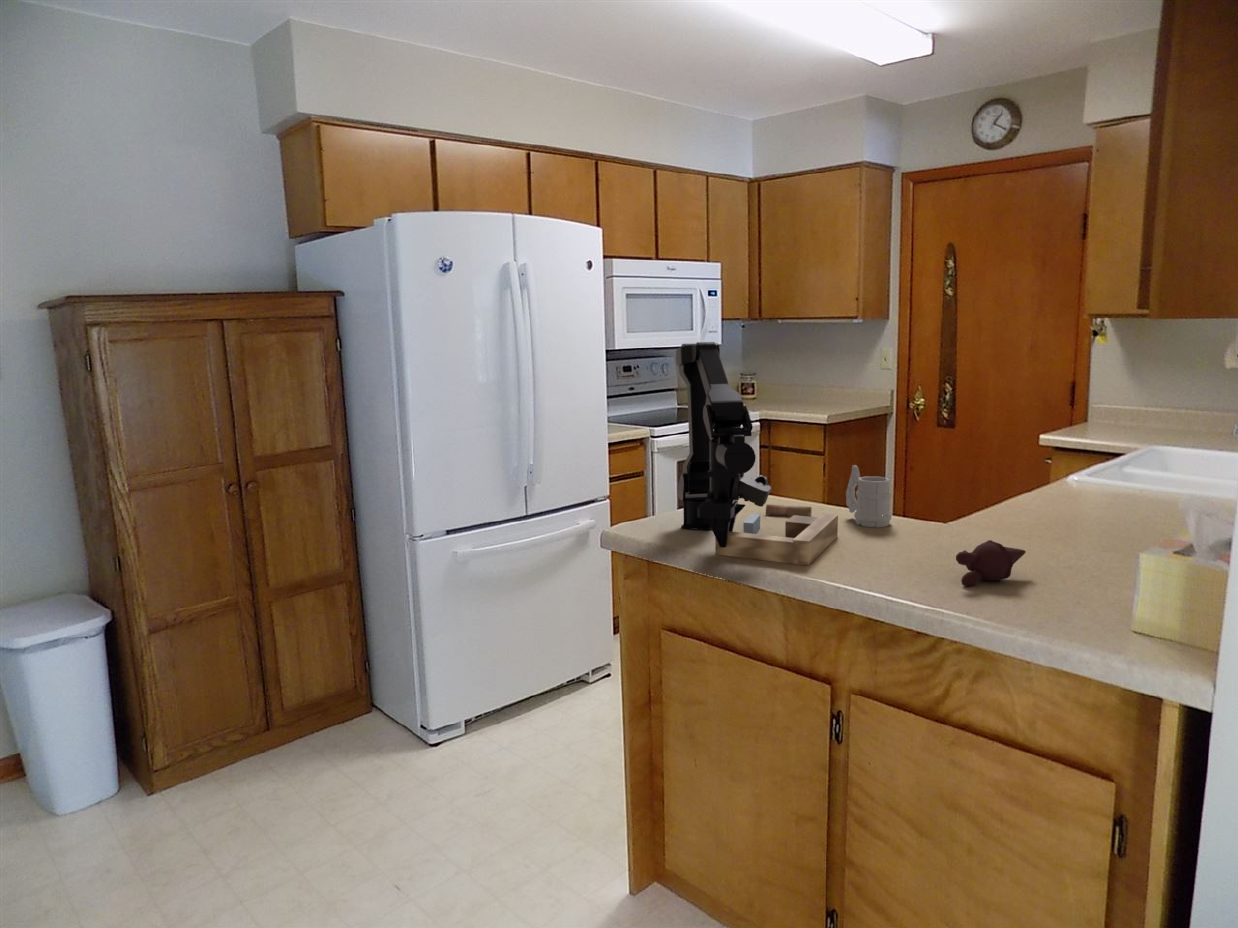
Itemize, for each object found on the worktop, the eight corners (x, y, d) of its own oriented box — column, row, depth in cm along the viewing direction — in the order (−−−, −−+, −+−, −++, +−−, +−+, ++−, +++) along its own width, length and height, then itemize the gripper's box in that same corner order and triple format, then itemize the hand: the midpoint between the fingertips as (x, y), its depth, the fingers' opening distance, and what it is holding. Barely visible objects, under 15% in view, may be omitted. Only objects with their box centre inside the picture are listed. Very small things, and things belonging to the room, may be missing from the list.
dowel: (767, 502, 188) (767, 513, 188) (765, 506, 185) (765, 516, 186) (811, 505, 184) (811, 515, 185) (810, 509, 182) (810, 519, 183)
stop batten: (743, 536, 168) (743, 522, 167) (751, 527, 175) (751, 513, 174) (753, 537, 167) (753, 523, 166) (760, 528, 174) (760, 514, 174)
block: (785, 540, 165) (785, 521, 164) (793, 533, 170) (793, 515, 169) (814, 543, 162) (814, 524, 161) (822, 536, 167) (822, 517, 167)
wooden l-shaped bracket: (715, 554, 155) (715, 531, 154) (753, 527, 175) (753, 507, 174) (808, 565, 147) (809, 541, 146) (837, 536, 166) (838, 514, 166)
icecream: (1002, 531, 143) (938, 550, 137) (1038, 530, 136) (972, 550, 130) (1011, 570, 142) (947, 590, 137) (1047, 571, 136) (981, 592, 130)
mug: (872, 529, 171) (873, 473, 169) (833, 518, 182) (835, 465, 180) (898, 524, 174) (900, 470, 172) (859, 514, 185) (861, 462, 183)
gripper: (758, 475, 142) (757, 561, 144) (776, 458, 159) (775, 535, 161) (696, 472, 145) (696, 556, 148) (720, 456, 163) (720, 531, 165)
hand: (725, 544), depth 156 cm, fingers closed on wooden l-shaped bracket, 3 cm apart
